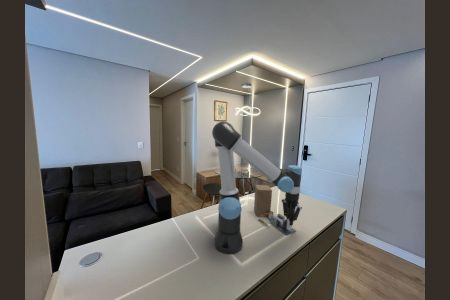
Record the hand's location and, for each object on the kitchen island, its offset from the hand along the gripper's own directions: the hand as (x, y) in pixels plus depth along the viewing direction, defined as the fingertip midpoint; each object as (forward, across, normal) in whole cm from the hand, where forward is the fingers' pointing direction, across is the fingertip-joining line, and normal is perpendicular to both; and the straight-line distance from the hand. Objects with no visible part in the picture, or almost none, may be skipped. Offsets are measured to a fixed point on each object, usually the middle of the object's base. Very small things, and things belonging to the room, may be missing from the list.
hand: (289, 229), depth 101 cm
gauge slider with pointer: (+1, +10, +4) cm, 10 cm away
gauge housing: (+2, +8, +3) cm, 9 cm away
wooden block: (+2, +24, 0) cm, 24 cm away
